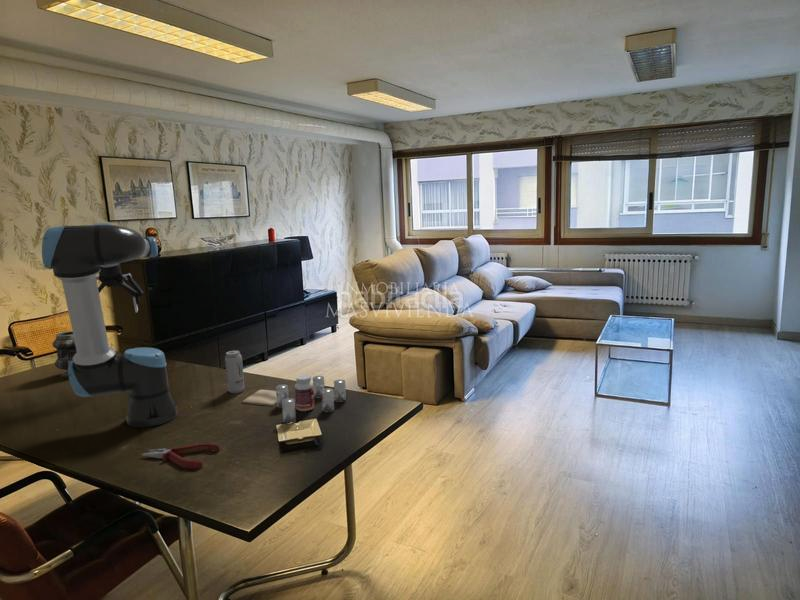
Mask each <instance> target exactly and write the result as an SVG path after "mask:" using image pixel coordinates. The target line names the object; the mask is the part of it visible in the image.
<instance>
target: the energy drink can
mask: <svg viewBox="0 0 800 600" xmlns="http://www.w3.org/2000/svg"><path fill="white" fill-rule="evenodd" d="M240 352H241V351H240V350H230V351H227V352H225V356H224V365H225V375H226V377H225V378H226V385H227V391H228V392H229V393H230V394H239V393H241V392H243V391H244V389H245V379H244V376H245V375H244V367H243V366H244V365H243V357H242V354H241V353H240Z"/></svg>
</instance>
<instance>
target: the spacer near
mask: <svg viewBox="0 0 800 600" xmlns="http://www.w3.org/2000/svg"><path fill="white" fill-rule="evenodd" d="M281 409H282V421H283V424H285V423H290V422H295V423H296V422H297V415H296V414H297V413H296V410H297V409H296V398H289V397H288V398H287V399H284V400H282V408H281Z"/></svg>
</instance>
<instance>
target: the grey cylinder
mask: <svg viewBox="0 0 800 600" xmlns="http://www.w3.org/2000/svg"><path fill="white" fill-rule="evenodd" d="M346 388H347V386H346V380H345V379H335V380H334V381H333V390H334V402H335V401H344V400H346V401H347V391H346V390H347V389H346Z"/></svg>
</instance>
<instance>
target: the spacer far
mask: <svg viewBox="0 0 800 600" xmlns="http://www.w3.org/2000/svg"><path fill="white" fill-rule="evenodd" d="M312 383H313V388H314V397H322V393H321V390H323V389H326V388H325V376H323V375H314V376H313V377H312Z"/></svg>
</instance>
